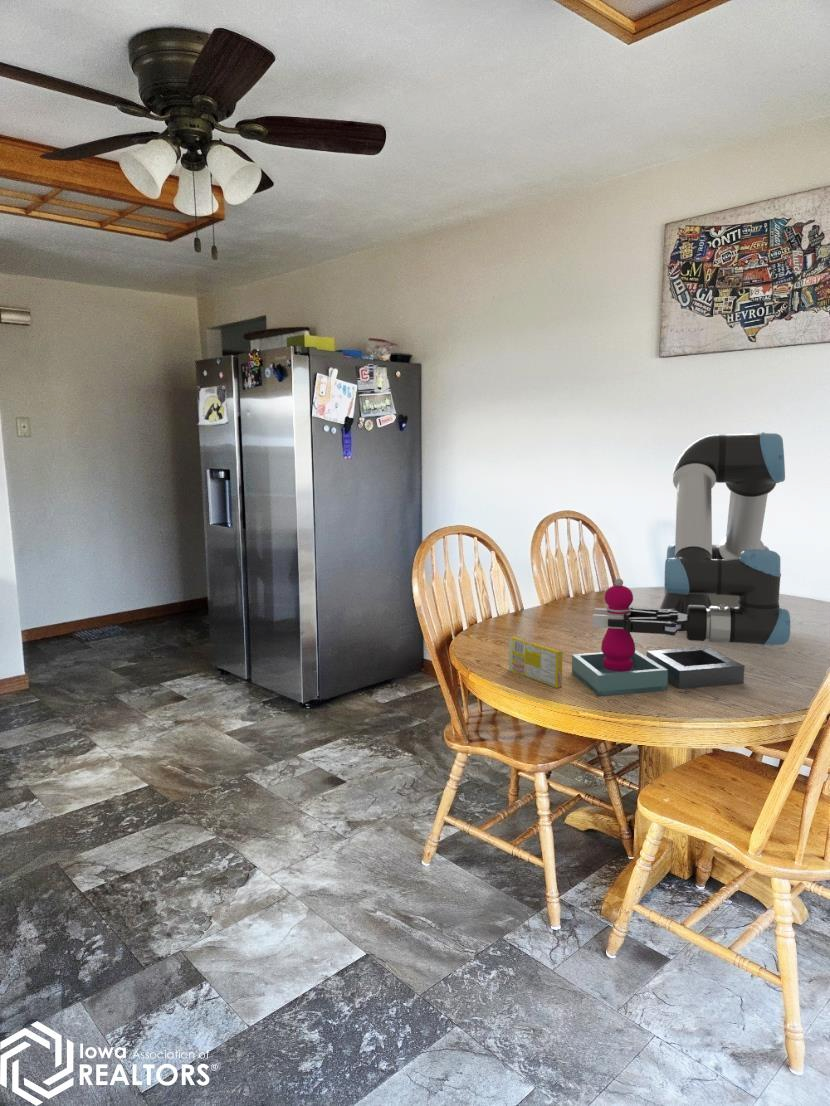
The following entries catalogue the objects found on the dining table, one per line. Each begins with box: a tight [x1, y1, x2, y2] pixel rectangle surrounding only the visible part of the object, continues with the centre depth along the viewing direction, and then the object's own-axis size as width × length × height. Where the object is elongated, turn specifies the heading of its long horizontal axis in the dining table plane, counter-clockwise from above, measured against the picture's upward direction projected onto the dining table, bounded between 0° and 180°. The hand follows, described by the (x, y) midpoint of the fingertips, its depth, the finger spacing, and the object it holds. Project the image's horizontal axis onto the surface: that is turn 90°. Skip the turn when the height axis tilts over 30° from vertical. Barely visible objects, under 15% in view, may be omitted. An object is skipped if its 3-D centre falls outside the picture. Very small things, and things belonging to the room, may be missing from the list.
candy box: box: [508, 635, 564, 689], centre depth 162 cm, size 16×2×8 cm, turn 33°
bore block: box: [646, 645, 745, 690], centre depth 161 cm, size 15×15×4 cm
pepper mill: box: [600, 578, 636, 671], centre depth 156 cm, size 7×7×20 cm
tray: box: [571, 649, 668, 697], centre depth 158 cm, size 15×15×4 cm
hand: (593, 617), depth 158 cm, fingers closed on pepper mill, 5 cm apart
